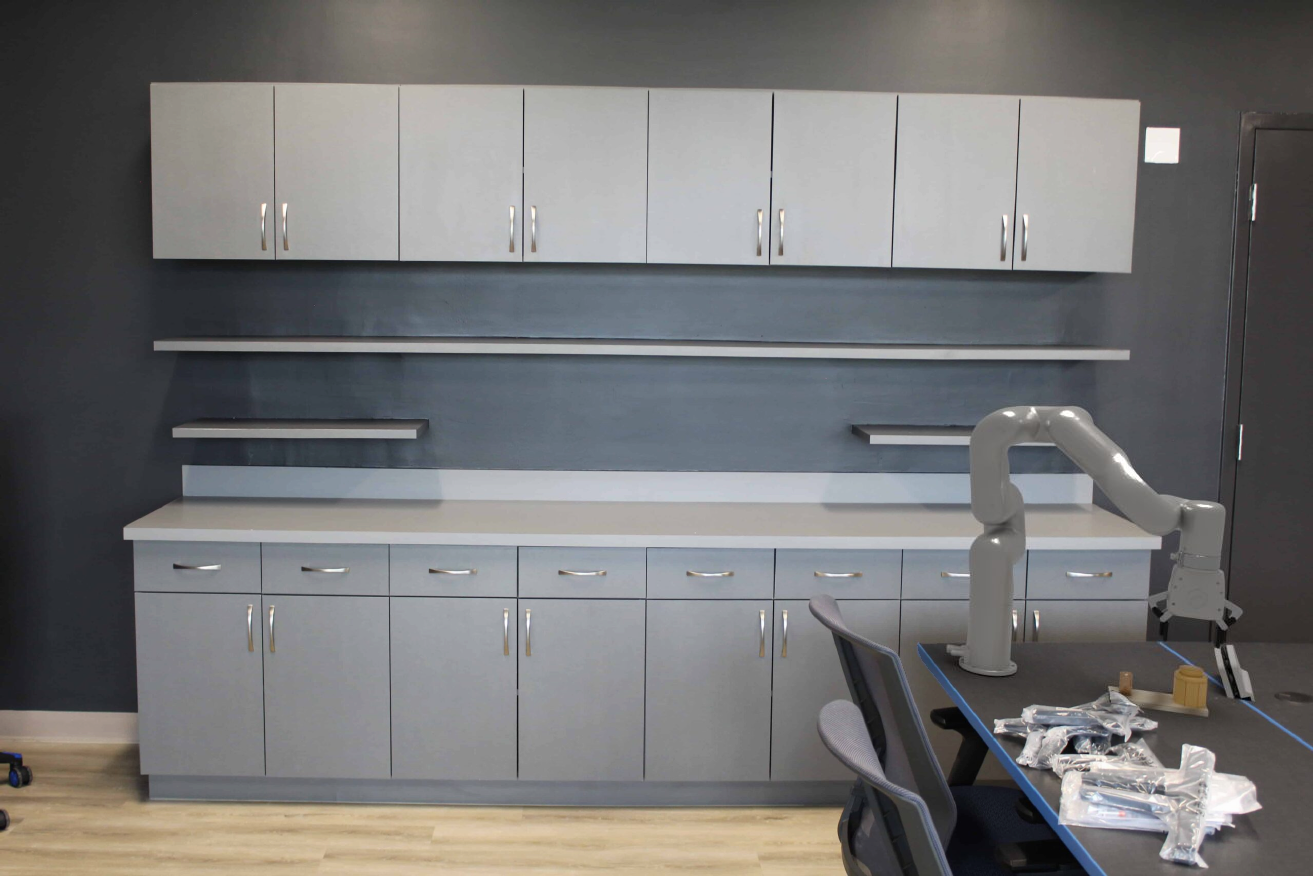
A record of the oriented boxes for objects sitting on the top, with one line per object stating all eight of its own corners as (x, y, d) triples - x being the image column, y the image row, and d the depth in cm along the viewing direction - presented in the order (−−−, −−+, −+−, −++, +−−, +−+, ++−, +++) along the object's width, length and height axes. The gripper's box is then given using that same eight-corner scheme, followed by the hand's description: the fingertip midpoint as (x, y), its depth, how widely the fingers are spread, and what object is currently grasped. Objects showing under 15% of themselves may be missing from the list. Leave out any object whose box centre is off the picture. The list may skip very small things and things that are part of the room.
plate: (1110, 703, 207) (1110, 698, 207) (1108, 691, 214) (1108, 686, 214) (1208, 717, 200) (1208, 711, 200) (1202, 704, 208) (1202, 698, 208)
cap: (1174, 705, 203) (1176, 670, 203) (1171, 695, 209) (1173, 662, 208) (1207, 709, 201) (1210, 675, 200) (1203, 699, 207) (1205, 666, 206)
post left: (1119, 695, 209) (1120, 674, 208) (1118, 691, 211) (1119, 670, 210) (1131, 696, 208) (1133, 675, 207) (1130, 693, 210) (1132, 672, 209)
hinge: (1255, 703, 209) (1240, 657, 209) (1230, 706, 211) (1215, 661, 211) (1249, 679, 223) (1236, 636, 224) (1226, 682, 226) (1212, 639, 226)
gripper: (1153, 560, 202) (1145, 641, 204) (1251, 571, 196) (1241, 655, 197) (1150, 552, 209) (1141, 631, 211) (1244, 563, 203) (1234, 644, 204)
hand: (1190, 643), depth 204 cm, fingers open, 9 cm apart
